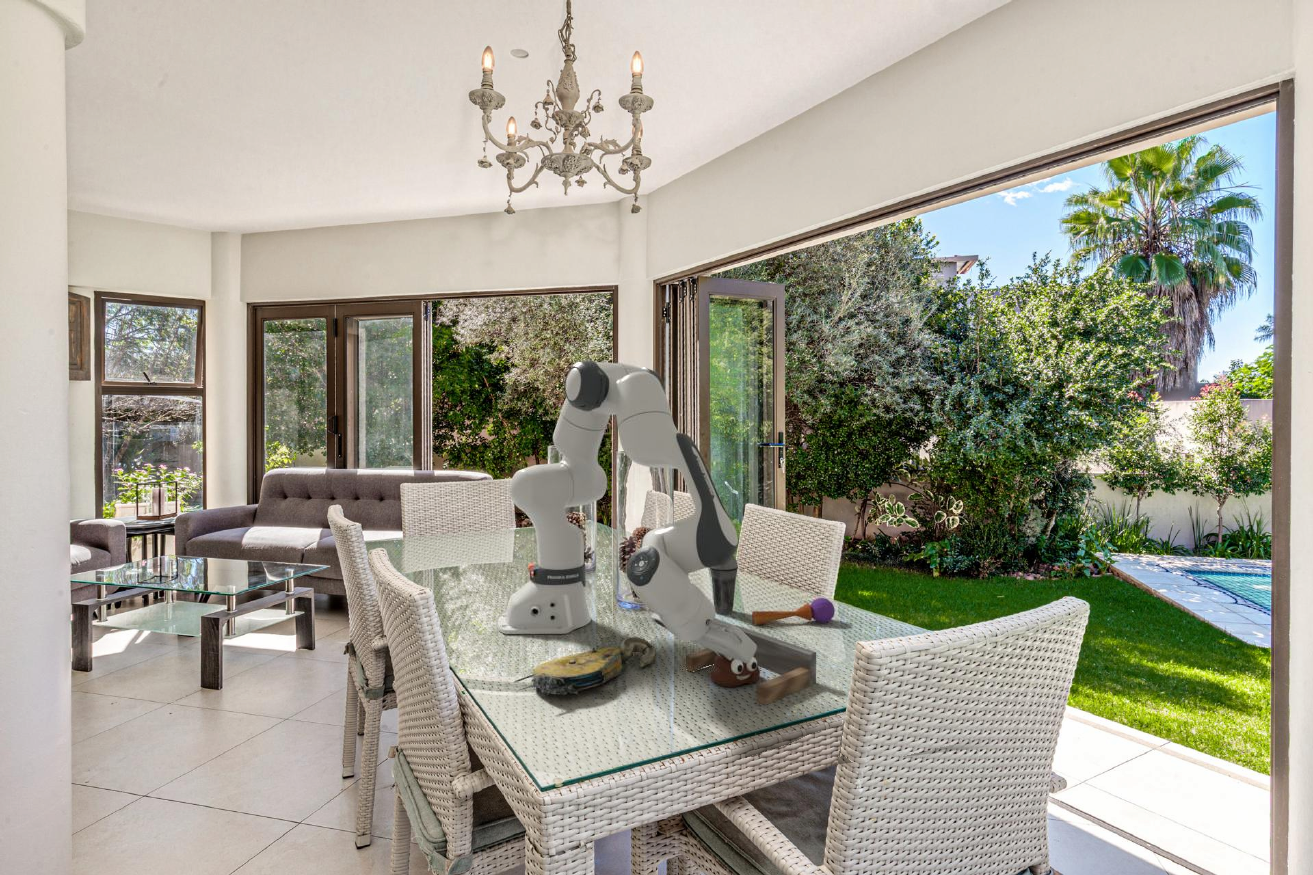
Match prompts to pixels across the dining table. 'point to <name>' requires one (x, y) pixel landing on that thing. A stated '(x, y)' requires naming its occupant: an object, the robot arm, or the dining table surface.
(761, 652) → the channel
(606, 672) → the pulley block
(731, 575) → the beverage cup
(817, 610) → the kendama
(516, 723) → the dining table surface
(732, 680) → the poop emoji
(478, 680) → the dining table surface
